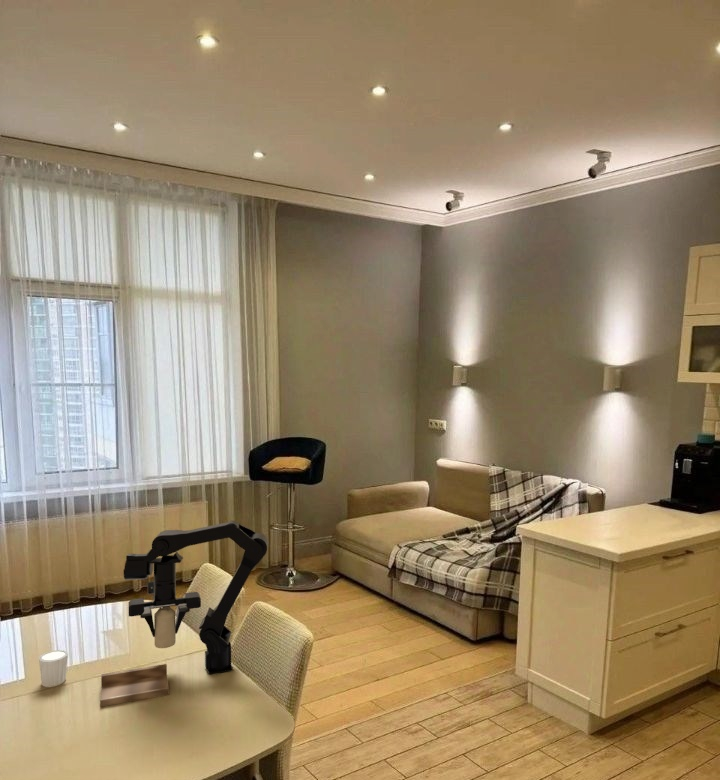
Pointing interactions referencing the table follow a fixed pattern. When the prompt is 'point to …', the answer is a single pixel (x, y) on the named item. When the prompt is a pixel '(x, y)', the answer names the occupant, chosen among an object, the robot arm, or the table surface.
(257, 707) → the table surface
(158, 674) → the board
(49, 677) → the white cylinder
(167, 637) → the candle
